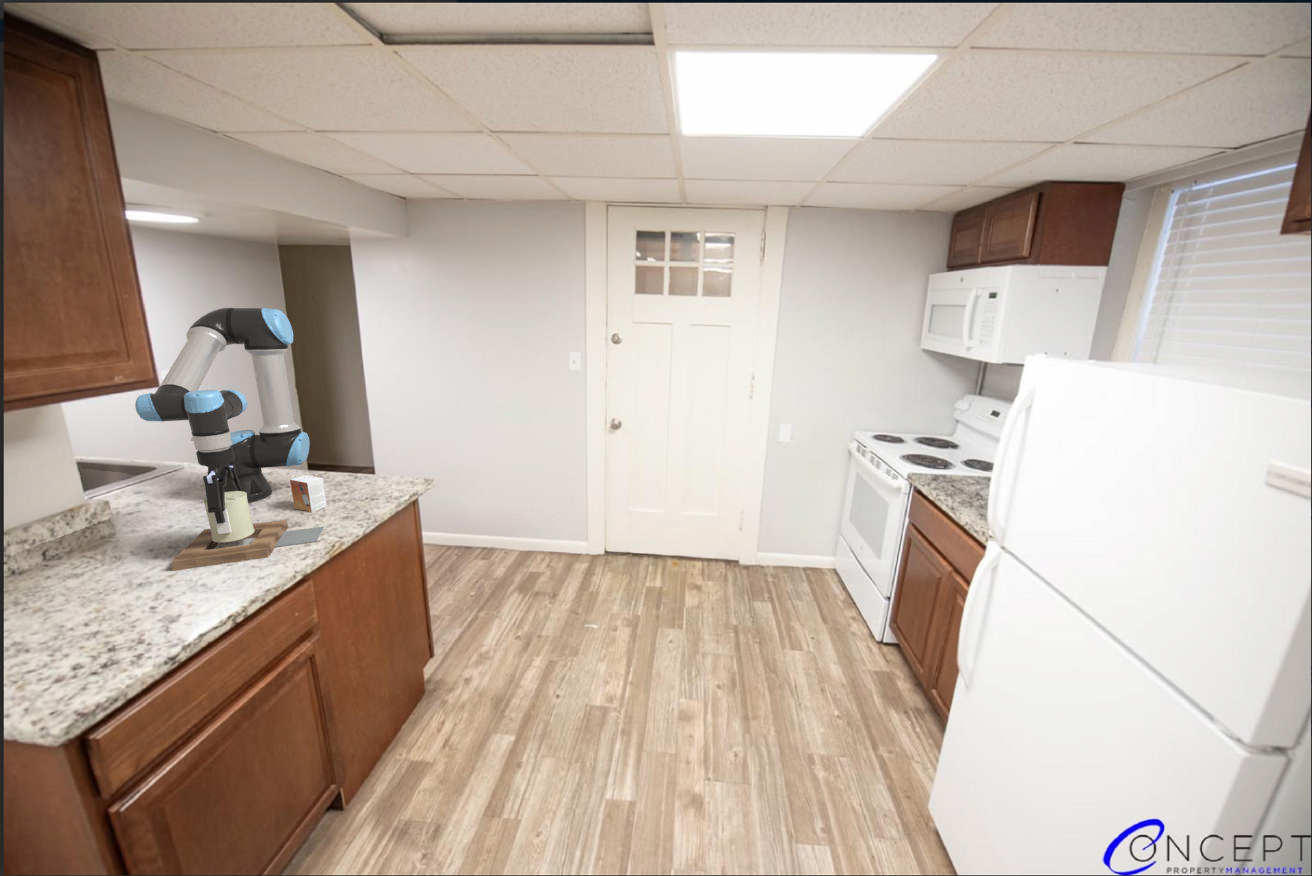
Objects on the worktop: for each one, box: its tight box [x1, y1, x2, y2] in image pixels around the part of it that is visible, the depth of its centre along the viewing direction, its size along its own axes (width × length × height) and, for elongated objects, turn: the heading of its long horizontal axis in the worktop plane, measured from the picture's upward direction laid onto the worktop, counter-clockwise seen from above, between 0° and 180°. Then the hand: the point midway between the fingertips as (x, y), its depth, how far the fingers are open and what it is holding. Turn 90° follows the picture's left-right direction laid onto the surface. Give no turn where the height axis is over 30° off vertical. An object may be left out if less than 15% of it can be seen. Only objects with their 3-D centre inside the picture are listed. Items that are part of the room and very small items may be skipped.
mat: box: [275, 526, 325, 548], centre depth 146 cm, size 10×10×1 cm
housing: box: [171, 519, 289, 572], centre depth 139 cm, size 20×20×2 cm
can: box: [203, 491, 255, 544], centre depth 137 cm, size 9×9×12 cm
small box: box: [289, 474, 328, 513], centre depth 165 cm, size 8×6×10 cm
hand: (231, 525), depth 138 cm, fingers closed on can, 9 cm apart
